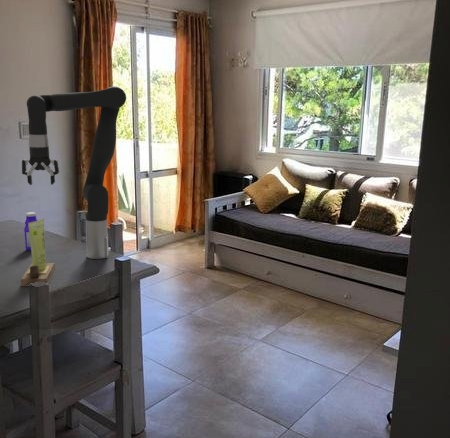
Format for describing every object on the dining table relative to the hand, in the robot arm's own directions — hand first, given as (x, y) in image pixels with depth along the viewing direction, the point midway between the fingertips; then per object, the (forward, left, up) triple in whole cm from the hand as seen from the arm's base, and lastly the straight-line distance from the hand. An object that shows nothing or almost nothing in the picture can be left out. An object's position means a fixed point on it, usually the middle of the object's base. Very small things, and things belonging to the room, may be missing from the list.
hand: (41, 184), depth 202 cm
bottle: (+8, -16, -34) cm, 38 cm away
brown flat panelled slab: (-2, +22, -33) cm, 40 cm away
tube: (-1, +21, -30) cm, 37 cm away
